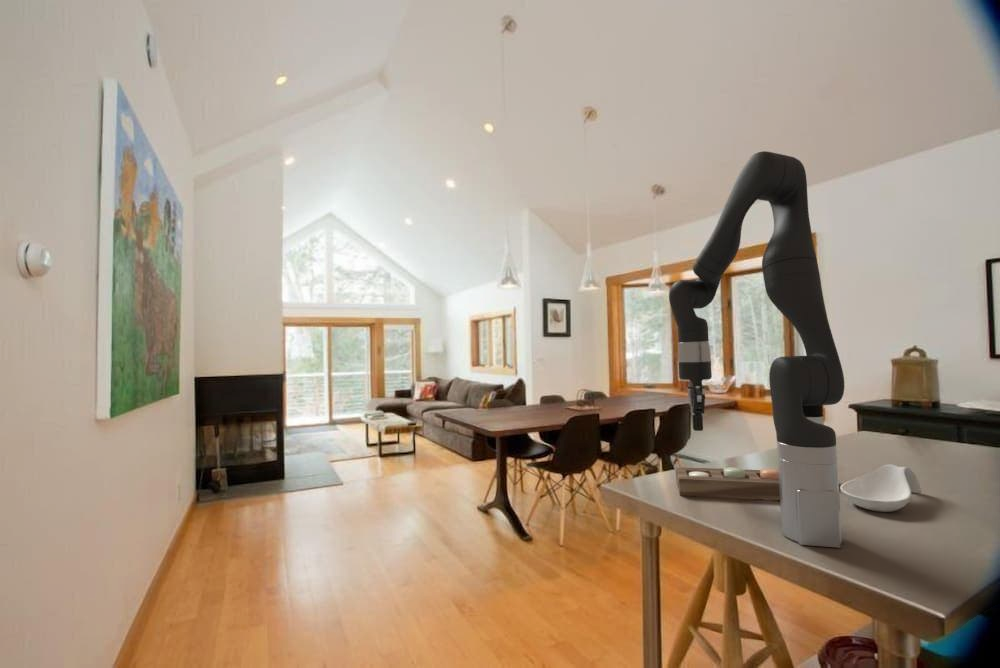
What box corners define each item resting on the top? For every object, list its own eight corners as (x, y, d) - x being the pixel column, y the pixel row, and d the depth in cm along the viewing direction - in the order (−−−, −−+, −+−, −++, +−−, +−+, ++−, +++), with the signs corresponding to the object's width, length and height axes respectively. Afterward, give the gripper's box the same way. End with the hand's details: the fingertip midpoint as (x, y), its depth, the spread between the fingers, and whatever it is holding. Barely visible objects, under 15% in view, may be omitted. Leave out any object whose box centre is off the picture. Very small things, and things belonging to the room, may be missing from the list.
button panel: (804, 502, 104) (803, 484, 104) (679, 495, 111) (679, 478, 111) (789, 487, 114) (788, 471, 114) (676, 482, 122) (675, 467, 122)
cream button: (710, 488, 112) (710, 476, 112) (690, 487, 113) (689, 476, 113) (708, 483, 116) (707, 471, 117) (688, 482, 118) (687, 471, 118)
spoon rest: (899, 522, 91) (896, 485, 91) (831, 506, 101) (829, 473, 101) (940, 498, 104) (938, 465, 104) (876, 486, 114) (874, 456, 114)
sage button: (747, 484, 110) (746, 472, 110) (726, 483, 111) (725, 471, 111) (743, 479, 114) (742, 467, 114) (722, 478, 116) (722, 467, 116)
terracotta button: (785, 486, 107) (785, 474, 108) (763, 485, 109) (762, 473, 109) (779, 480, 112) (779, 469, 112) (758, 479, 113) (758, 468, 113)
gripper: (715, 360, 108) (719, 435, 108) (706, 359, 121) (710, 426, 120) (680, 361, 110) (684, 434, 110) (676, 360, 123) (679, 425, 122)
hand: (698, 430), depth 115 cm, fingers closed
